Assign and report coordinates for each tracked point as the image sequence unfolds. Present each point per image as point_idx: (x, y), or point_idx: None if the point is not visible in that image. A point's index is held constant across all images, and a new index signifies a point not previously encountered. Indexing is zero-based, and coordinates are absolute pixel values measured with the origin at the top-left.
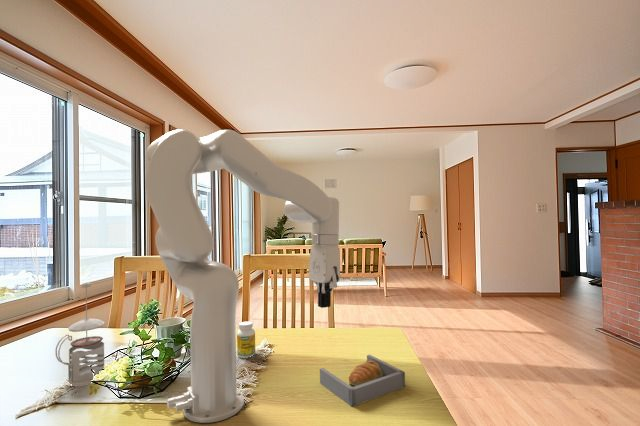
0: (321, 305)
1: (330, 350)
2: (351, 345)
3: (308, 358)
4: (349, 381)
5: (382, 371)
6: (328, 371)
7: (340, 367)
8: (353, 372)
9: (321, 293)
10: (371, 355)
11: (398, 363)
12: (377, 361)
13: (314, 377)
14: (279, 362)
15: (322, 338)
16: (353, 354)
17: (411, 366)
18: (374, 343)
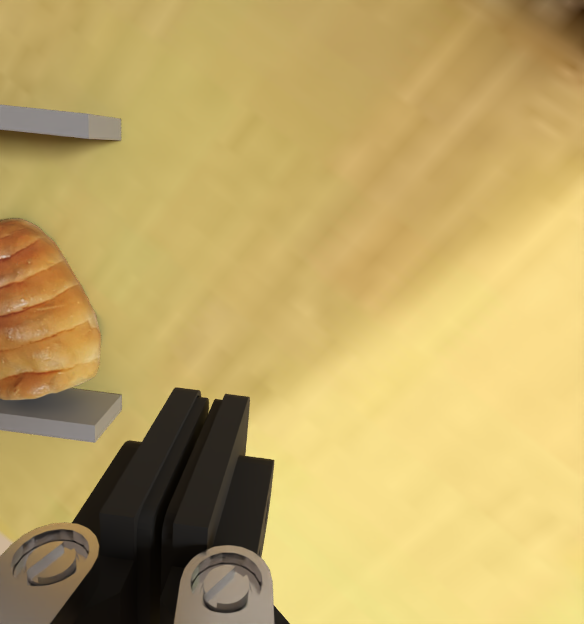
0: (169, 403)
1: (406, 413)
2: (379, 527)
3: (406, 258)
4: (28, 226)
5: None
6: (33, 132)
7: (204, 312)
8: (21, 265)
9: (101, 516)
10: (79, 439)
11: None
12: (15, 413)
13: (190, 136)
14: (485, 87)
15: (578, 493)
16: (284, 458)
17: None
18: (319, 611)
